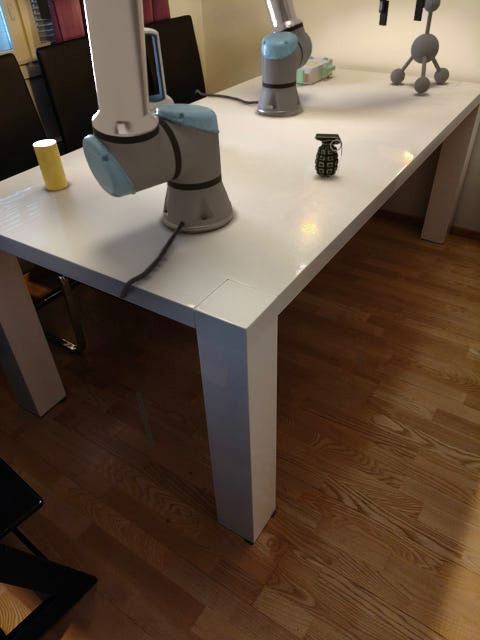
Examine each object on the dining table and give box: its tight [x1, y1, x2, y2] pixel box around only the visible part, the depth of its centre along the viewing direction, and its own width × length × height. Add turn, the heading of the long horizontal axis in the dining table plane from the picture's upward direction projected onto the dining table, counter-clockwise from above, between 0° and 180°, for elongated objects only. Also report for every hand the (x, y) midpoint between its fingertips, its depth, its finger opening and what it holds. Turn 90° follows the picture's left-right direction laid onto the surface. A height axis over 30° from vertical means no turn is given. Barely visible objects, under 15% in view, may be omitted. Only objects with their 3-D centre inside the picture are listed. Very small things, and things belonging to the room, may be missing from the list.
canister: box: [32, 138, 69, 192], centre depth 122 cm, size 6×6×11 cm
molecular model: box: [390, 0, 450, 94], centre depth 178 cm, size 24×22×30 cm
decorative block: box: [296, 55, 336, 85], centre depth 206 cm, size 26×6×20 cm
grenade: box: [314, 133, 343, 179], centre depth 119 cm, size 7×6×10 cm
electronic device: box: [144, 27, 175, 114], centre depth 141 cm, size 12×8×30 cm, turn 105°
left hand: (21, 23), depth 105 cm, fingers open, 13 cm apart
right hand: (400, 23), depth 153 cm, fingers open, 13 cm apart
